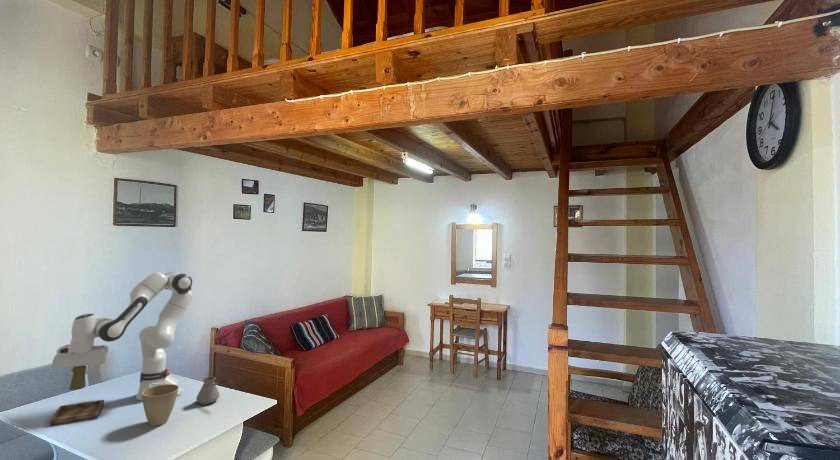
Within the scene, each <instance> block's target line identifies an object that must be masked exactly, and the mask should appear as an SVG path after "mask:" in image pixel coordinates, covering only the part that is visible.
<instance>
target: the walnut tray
mask: <svg viewBox="0 0 840 460" xmlns="http://www.w3.org/2000/svg"><path fill="white" fill-rule="evenodd" d="M104 405H105V399H100V400H99V399H98V400H93V401H92V400H91V401H85V402H79V403H72V404H65V405H60V406H59V407H58V408H57V410H56V412H54V414H53V415H52V416H51V419H50V420H49V427H54V426H60V425H66V424H73V423H78V422H84V421H90V420H96V419H98V418H99V415H100V413H101V412H102V409H103V408H104Z"/></svg>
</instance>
